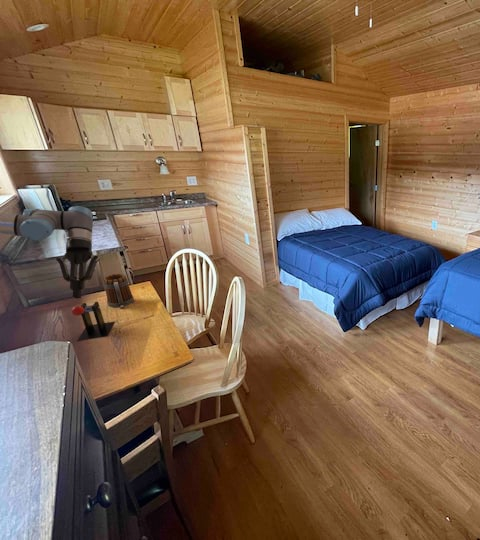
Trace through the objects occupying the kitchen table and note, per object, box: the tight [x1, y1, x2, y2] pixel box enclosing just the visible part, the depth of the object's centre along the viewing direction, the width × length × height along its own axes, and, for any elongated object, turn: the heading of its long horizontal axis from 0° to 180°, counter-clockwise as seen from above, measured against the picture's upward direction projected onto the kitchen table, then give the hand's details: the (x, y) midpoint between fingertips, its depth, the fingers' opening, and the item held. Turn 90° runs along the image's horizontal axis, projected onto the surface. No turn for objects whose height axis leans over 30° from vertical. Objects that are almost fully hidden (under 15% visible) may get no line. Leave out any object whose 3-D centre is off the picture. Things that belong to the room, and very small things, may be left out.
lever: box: [71, 304, 93, 316], centre depth 118 cm, size 14×4×4 cm, turn 26°
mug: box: [103, 273, 135, 310], centre depth 146 cm, size 16×11×15 cm
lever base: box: [76, 301, 116, 342], centre depth 125 cm, size 12×10×14 cm
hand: (76, 297), depth 113 cm, fingers closed
